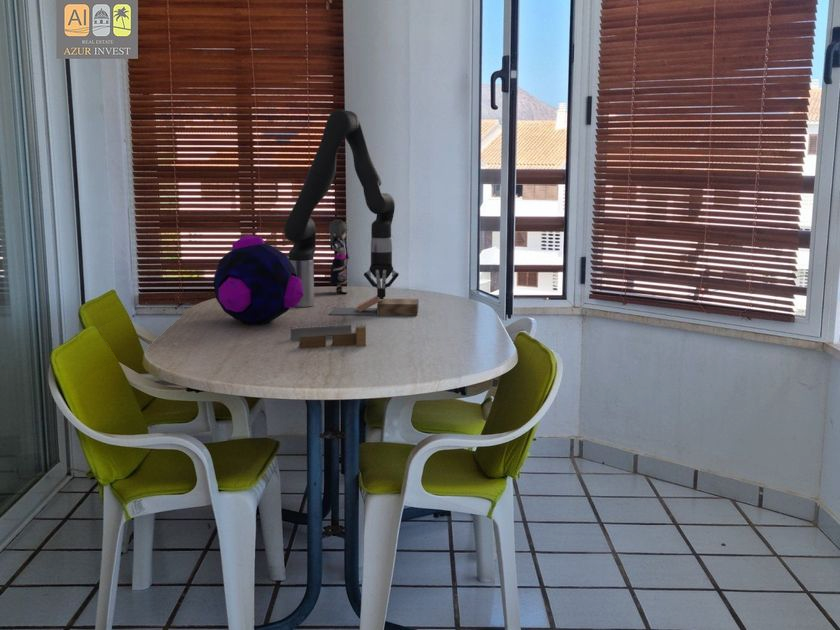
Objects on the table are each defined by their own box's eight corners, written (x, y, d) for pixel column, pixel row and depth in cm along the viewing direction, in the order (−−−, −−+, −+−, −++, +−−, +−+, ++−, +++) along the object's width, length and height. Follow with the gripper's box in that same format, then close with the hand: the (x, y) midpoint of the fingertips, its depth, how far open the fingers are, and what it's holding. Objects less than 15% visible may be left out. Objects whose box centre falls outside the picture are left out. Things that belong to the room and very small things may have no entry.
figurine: (345, 297, 357) (344, 221, 352) (326, 297, 357) (325, 221, 352) (349, 291, 374) (349, 218, 369) (331, 291, 374) (330, 218, 369)
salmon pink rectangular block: (359, 312, 322) (357, 307, 322) (361, 309, 328) (358, 304, 328) (379, 301, 321) (376, 296, 321) (380, 299, 327) (378, 294, 327)
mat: (328, 315, 318) (328, 313, 318) (334, 308, 332) (334, 307, 332) (374, 315, 318) (374, 314, 318) (377, 308, 331) (377, 307, 331)
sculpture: (262, 317, 323) (228, 240, 318) (326, 297, 309) (291, 215, 303) (211, 349, 298) (172, 265, 292) (277, 328, 283) (238, 240, 278)
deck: (377, 315, 319) (377, 303, 318) (380, 309, 330) (380, 298, 330) (416, 315, 318) (417, 304, 317) (418, 309, 330) (418, 299, 329)
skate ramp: (361, 334, 288) (361, 310, 287) (396, 356, 256) (396, 330, 255) (270, 340, 279) (269, 316, 277) (294, 364, 246) (293, 337, 245)
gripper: (361, 251, 317) (361, 300, 320) (399, 251, 317) (399, 300, 320) (363, 249, 325) (364, 296, 328) (400, 249, 324) (400, 297, 327)
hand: (381, 298), depth 324 cm, fingers closed
